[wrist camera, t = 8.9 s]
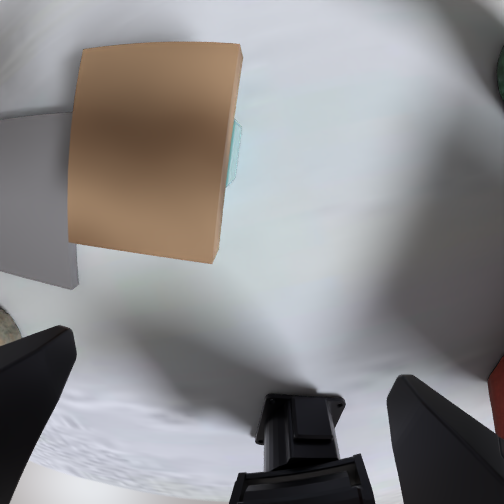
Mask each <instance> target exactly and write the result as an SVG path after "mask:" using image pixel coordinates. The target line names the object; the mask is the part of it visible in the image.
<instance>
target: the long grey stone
mask: <svg viewBox="0 0 504 504" xmlns="http://www.w3.org/2000/svg"><path fill="white" fill-rule="evenodd" d="M18 339H21V334H20V332H19V329H18V328H17V326H16V325H15V322H14V321H13V319H12V318H11V316H10V315H9V314H6V313H5V312H4V310H2V309H0V346H2V345H5V344H7V343H10V342H13V341H16V340H18Z"/></svg>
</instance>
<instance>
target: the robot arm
mask: <svg viewBox="0 0 504 504" xmlns="http://www.w3.org/2000/svg"><path fill="white" fill-rule="evenodd" d="M76 357H77V351H76V346H75V341H74V336H73V332H72V330H71V329H70V328H68V327H64V326H61V325H58V326H55V327H52V328H49V329H46V330H44V331H41V332H38V333H35V334H32V335H30V336H27V337H24V338H21V339H18V340H16V341H13V342H10V343H7V344H5V345H2V346H0V504H9V503H10V501H11V498H12V496H13V493H14V491H15V489H16V487H17V484H18V482H19V480H20V477H21V475H22V473H23V471H24V468H25V466H26V464H27V462H28V460H29V458H30V456H31V454H32V451H33V449H34V447H35V445H36V443H37V441H38V439H39V437H40V435H41V433H42V431H43V429H44V427H45V425H46V423H47V422H48V420H49V418H50V416H51V414H52V412H53V410H54V408H55V406H56V404H57V402H58V400H59V398H60V396H61V394H62V391H63V389H64V386H65V384H66V381H67V379H68V377H69V374H70V372H71V370H72V367H73V365H74V363H75V361H76ZM271 399H273V400H271ZM340 403H341V404H340ZM345 405H346V403H345V400H344V399H343V398H327V397H307V396H293V395H281V394H268V395H267V396H266V397H265V401H264V406H263V410H262V414H261V418H260V422H259V426H258V430H257V434H256V438H255V442H256V444H259V445H264V472H257V473H246V472H244V473H239V474H238V477H237V481H235V484H234V488H233V491H232V495H231V498H230V502H229V504H375V499H374V495H373V491H372V487H371V484H370V481H369V478H368V475H367V472H366V469H365V466H364V462H363V459H362V456H361V453H360V454H356V455H353V457H349V458H344V459H340V454H339V449H338V444H337V439H336V434H335V427H336V424H337V422H338V420H339V418H340V416H341V414H342V412H343V410H344V408H345ZM387 410H388V417H389V424H390V433H391V441H392V448H393V453H394V457H395V462H396V467H397V471H398V476H399V481H400V486H401V491H402V496H403V502H404V504H504V439H502V438H501V437H498V435H497V434H495V433H494V432H492V431H491V430H490V429H488V428H487V427H485V426H484V425H483V424H481V423H480V422H478V421H477V420H475V419H474V418H473V417H471V416H470V415H468V414H467V413H466V412H464V411H463V410H461V409H460V408H459V407H457V406H456V405H454V404H453V403H452V402H450V401H449V400H447V399H446V398H445V397H443V396H442V395H440V394H439V393H438V392H436V391H435V390H433V389H432V388H431V387H429V386H428V385H426V384H425V383H424V382H422V381H421V380H419V379H418V378H417V377H415V376H414V375H399V376H398V377H397V379H396V381H395V383H394V385H393V387H392V389H391V391H390V393H389V395H388V397H387Z"/></svg>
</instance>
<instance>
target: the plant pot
mask: <svg viewBox="0 0 504 504" xmlns="http://www.w3.org/2000/svg"><path fill="white" fill-rule="evenodd" d="M488 389H489V397H490V402H491V407H492V413H493V420H494V426H495V432H496V434H497V435H498V437H501V438H502V439H504V356H503V357H502V359H501V360H500V362H499V363H498V365H497V366H496V368H495V369H494V371H493V372H492V373H491V375H490V377H489V379H488Z"/></svg>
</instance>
